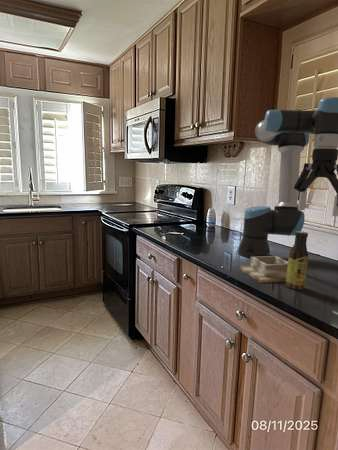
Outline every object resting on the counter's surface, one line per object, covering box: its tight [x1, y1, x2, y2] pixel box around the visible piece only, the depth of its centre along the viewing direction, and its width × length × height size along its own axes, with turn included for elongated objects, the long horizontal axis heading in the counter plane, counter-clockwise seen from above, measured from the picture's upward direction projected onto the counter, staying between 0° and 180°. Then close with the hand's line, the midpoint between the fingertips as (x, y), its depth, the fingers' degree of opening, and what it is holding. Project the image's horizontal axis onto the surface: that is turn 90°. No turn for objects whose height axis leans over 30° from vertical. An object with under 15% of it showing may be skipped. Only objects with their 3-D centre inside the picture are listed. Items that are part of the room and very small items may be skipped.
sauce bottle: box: [285, 230, 309, 290], centre depth 110 cm, size 7×6×20 cm
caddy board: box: [239, 255, 288, 284], centre depth 124 cm, size 16×18×6 cm
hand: (317, 213), depth 107 cm, fingers open, 13 cm apart
